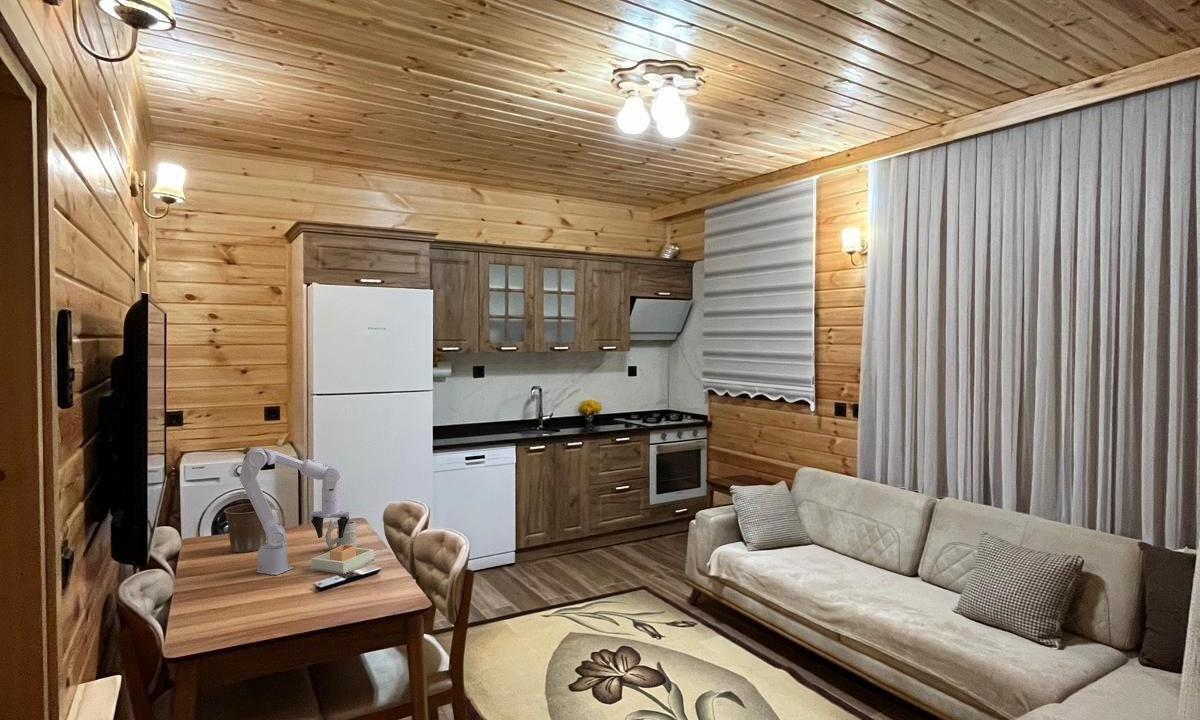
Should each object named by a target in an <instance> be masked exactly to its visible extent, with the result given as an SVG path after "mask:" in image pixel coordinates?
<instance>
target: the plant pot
mask: <svg viewBox="0 0 1200 720" xmlns="http://www.w3.org/2000/svg"><path fill="white" fill-rule="evenodd" d="M269 506H270V508H271V504H269ZM223 513H224V514H225V520H226V522H227V528H228V537H229V545H230V551H231V552H232V551H233V552H232V553H236V552H247V553H249V552H257V551H258V550H259V548H260V547H261V546H263V545H265V544H266V543H267V541H266V535H265V531H264V528H263V526H262V523H261V521H260V519H259V517H258V515H257V513H256V511H255V509H254V507H253V505H252V503H251V502H250V503H241V504H236V505H232V506H229V507H227V508H225V509H224V510H223ZM256 550H257V551H256Z"/></svg>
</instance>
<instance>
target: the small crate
mask: <svg viewBox="0 0 1200 720" xmlns="http://www.w3.org/2000/svg"><path fill="white" fill-rule="evenodd" d="M356 548H357V547H356V545H341V546H339V547H337V546H336V547H335V548H333V549H331V550H329V552H330V560H334V561H342V562H343V561H346V560H348V559H351V558H353V557H355V556H356Z"/></svg>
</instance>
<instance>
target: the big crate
mask: <svg viewBox="0 0 1200 720" xmlns="http://www.w3.org/2000/svg"><path fill="white" fill-rule="evenodd" d="M310 560H311V571H315V572H317V571H318V572H324V573H331V574H338V575H345V574H347V573H346V572H348V573H350V572H352V571H354V570H356V569H359V568H361V567H363V566H365V565H368V564H370V563H372V562H375V549H370V548H363V547H362V548H361V547H356V556H355V557H353V558H351V559H348V560H346V561H343V562H342V561H334V560H330V551H328V552H325V553H322V554H320V555H317V556H314V557H312V558H311V559H310ZM371 561H372V562H371ZM367 563H368V564H367ZM349 571H350V572H349ZM344 573H345V574H344Z"/></svg>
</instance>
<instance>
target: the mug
mask: <svg viewBox="0 0 1200 720" xmlns="http://www.w3.org/2000/svg"><path fill="white" fill-rule="evenodd" d="M356 524H357V523H356V521H354V520H348V522H347V525H346V527H345V530H344V534H343V537H342V538H339V527H338V524H336V525H335V523H334V521H333V519H329V525H328V528H327V531H326V534H325V543H326V545H327V546H328V548H329V549H331V548H332V547H333V546H334V545H335V544H336V548H337V547H339V546H341V545H356V548H358V547H357V545H358V540H357V530H358V529H357V526H356ZM335 529H337V532H336V534H337V538H335V539H332V537H331V536H332V535H331V534H332V532H333V531H334V530H335Z"/></svg>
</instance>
